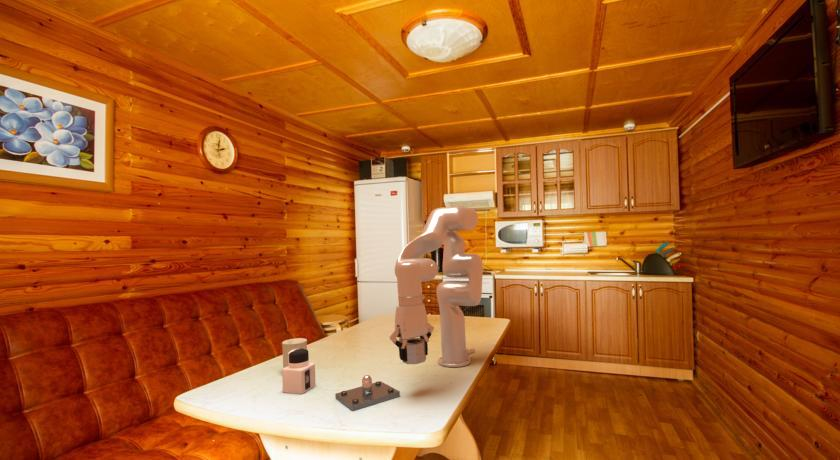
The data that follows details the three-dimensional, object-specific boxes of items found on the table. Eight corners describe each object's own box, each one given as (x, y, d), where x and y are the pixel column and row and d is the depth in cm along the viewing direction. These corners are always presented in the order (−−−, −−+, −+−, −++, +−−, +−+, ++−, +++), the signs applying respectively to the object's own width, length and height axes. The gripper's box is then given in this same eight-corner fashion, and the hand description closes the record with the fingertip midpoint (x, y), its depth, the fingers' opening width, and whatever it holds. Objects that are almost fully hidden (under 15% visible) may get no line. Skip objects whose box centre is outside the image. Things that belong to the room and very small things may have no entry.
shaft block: (380, 385, 129) (379, 365, 129) (399, 396, 119) (398, 374, 120) (335, 398, 120) (334, 376, 120) (352, 411, 110) (351, 387, 110)
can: (277, 374, 146) (276, 342, 146) (294, 366, 155) (293, 336, 155) (297, 376, 143) (296, 343, 143) (313, 368, 151) (311, 337, 152)
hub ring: (417, 354, 126) (415, 336, 126) (430, 360, 121) (428, 340, 121) (399, 360, 122) (397, 341, 122) (411, 365, 116) (410, 346, 116)
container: (316, 385, 132) (314, 347, 132) (302, 394, 125) (300, 353, 125) (297, 384, 134) (295, 346, 135) (282, 392, 127) (281, 352, 127)
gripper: (425, 295, 129) (429, 348, 129) (380, 304, 119) (384, 361, 119) (439, 297, 123) (443, 353, 123) (393, 307, 113) (397, 367, 113)
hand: (414, 356), depth 121 cm, fingers closed on hub ring, 7 cm apart
